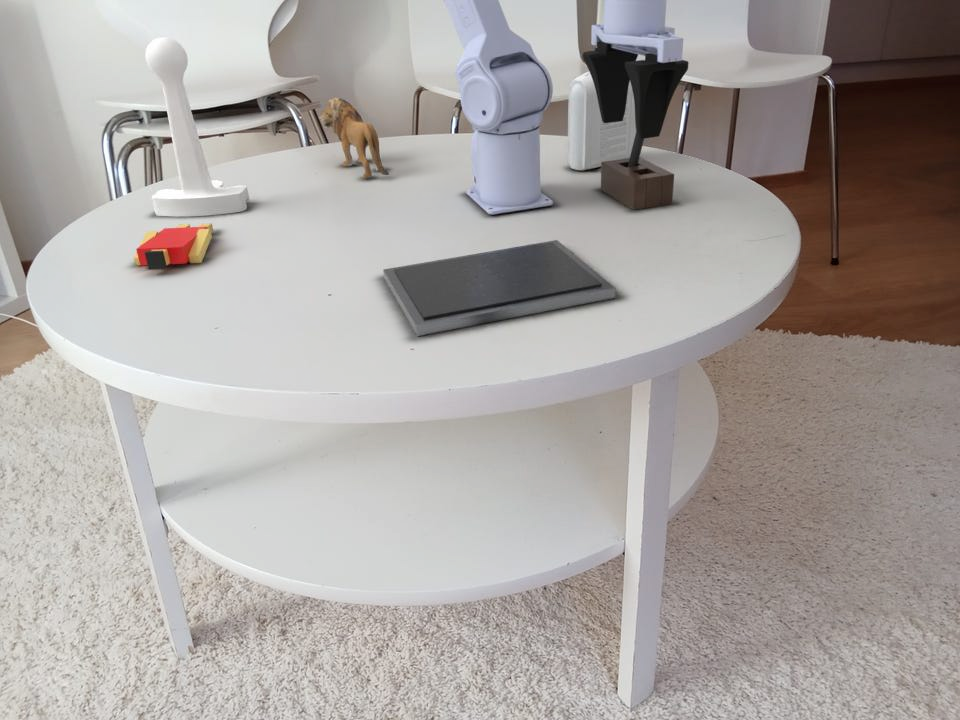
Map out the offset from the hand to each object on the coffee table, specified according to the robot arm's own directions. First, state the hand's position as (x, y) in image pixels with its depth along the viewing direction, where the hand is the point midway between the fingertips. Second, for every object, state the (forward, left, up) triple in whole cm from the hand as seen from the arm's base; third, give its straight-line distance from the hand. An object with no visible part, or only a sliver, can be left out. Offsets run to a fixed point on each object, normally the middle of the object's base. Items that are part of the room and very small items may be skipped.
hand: (629, 129), depth 78 cm
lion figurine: (-38, -22, -11) cm, 45 cm away
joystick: (-30, -43, -11) cm, 53 cm away
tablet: (+9, -18, -10) cm, 23 cm away
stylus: (-11, +6, -10) cm, 16 cm away
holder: (-9, +6, -10) cm, 15 cm away
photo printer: (-24, +9, -11) cm, 28 cm away
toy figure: (-14, -46, -11) cm, 49 cm away
